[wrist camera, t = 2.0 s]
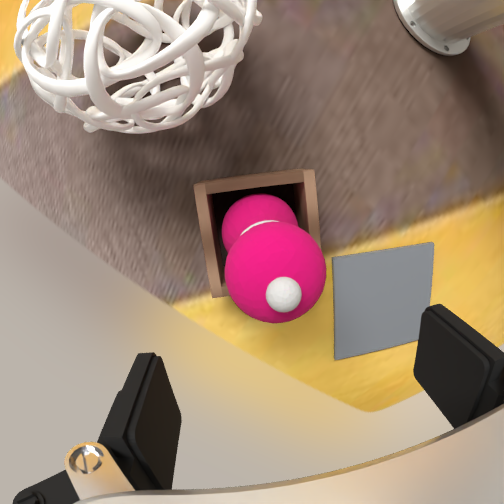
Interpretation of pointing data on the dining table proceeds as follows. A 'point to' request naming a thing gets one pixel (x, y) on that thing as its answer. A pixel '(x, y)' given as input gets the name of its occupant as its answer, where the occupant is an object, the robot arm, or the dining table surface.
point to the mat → (380, 298)
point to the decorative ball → (133, 59)
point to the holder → (204, 189)
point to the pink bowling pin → (270, 260)
